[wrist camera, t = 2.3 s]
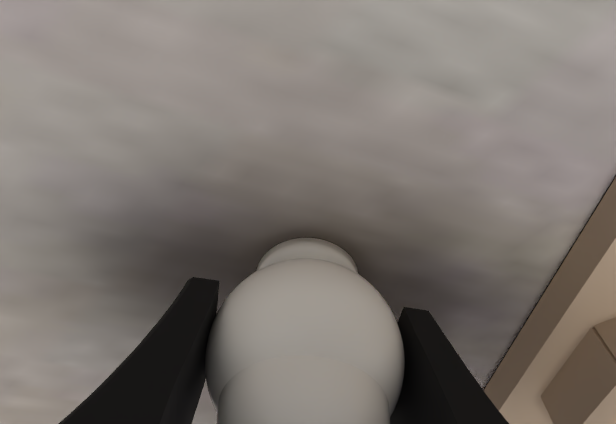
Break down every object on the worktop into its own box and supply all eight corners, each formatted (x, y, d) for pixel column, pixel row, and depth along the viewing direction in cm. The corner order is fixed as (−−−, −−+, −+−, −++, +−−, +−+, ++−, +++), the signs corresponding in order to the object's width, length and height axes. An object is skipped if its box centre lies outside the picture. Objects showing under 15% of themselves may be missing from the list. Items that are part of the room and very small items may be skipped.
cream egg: (365, 343, 14) (392, 570, 9) (220, 324, 13) (167, 548, 9) (408, 226, 11) (473, 448, 7) (233, 198, 11) (169, 411, 6)
